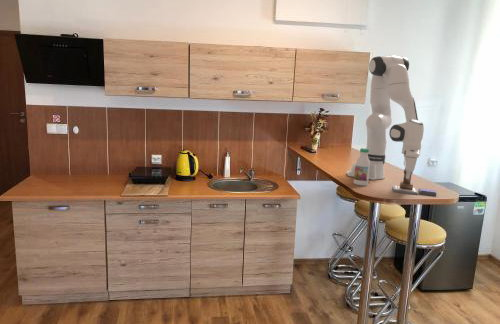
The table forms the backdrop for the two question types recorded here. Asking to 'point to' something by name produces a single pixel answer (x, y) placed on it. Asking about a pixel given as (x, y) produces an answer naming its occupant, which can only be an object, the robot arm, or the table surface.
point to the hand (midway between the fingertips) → (406, 176)
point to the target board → (405, 190)
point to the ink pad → (427, 192)
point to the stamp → (406, 182)
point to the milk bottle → (362, 168)
